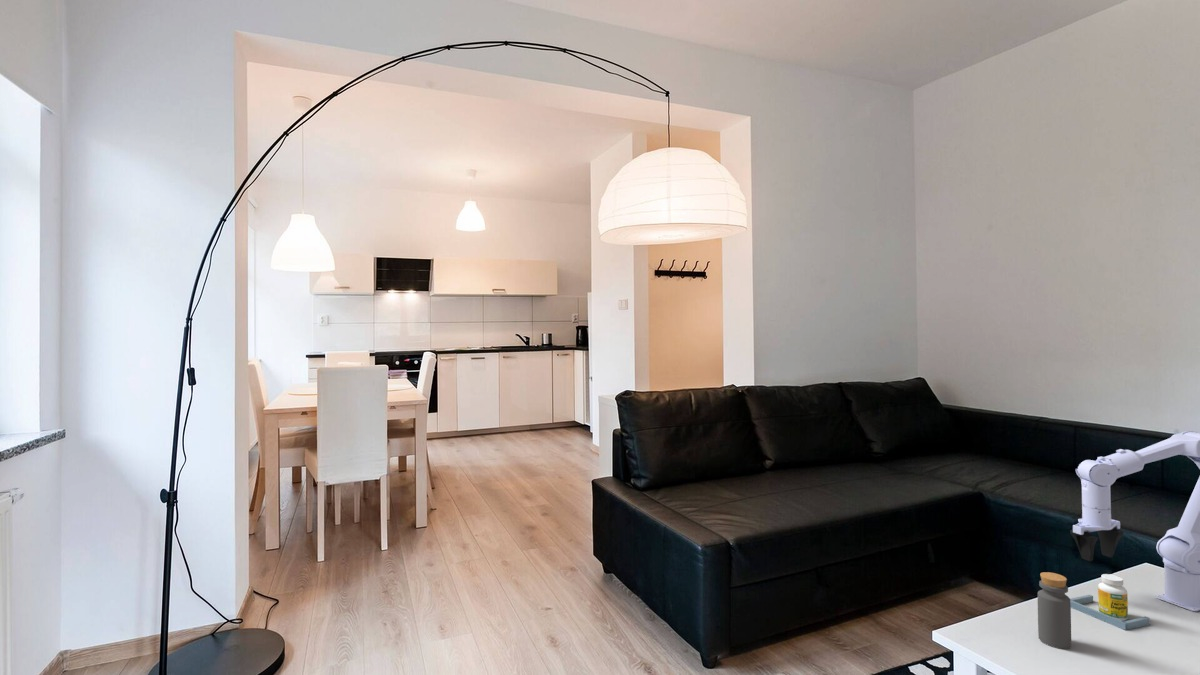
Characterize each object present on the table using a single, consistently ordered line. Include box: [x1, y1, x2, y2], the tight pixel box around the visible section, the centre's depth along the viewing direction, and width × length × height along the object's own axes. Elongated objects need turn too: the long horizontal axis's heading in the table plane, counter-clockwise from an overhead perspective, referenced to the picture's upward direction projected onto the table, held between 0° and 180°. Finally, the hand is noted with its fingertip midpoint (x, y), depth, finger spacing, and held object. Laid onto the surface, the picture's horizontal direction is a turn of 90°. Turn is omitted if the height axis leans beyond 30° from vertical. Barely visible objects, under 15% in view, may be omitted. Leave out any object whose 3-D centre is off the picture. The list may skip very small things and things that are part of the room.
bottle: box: [1037, 571, 1072, 650], centre depth 127 cm, size 6×6×15 cm
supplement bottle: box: [1097, 573, 1129, 622], centre depth 138 cm, size 5×5×10 cm
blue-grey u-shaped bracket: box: [1070, 594, 1151, 631], centre depth 138 cm, size 8×13×2 cm, turn 16°
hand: (1097, 557), depth 147 cm, fingers open, 7 cm apart
